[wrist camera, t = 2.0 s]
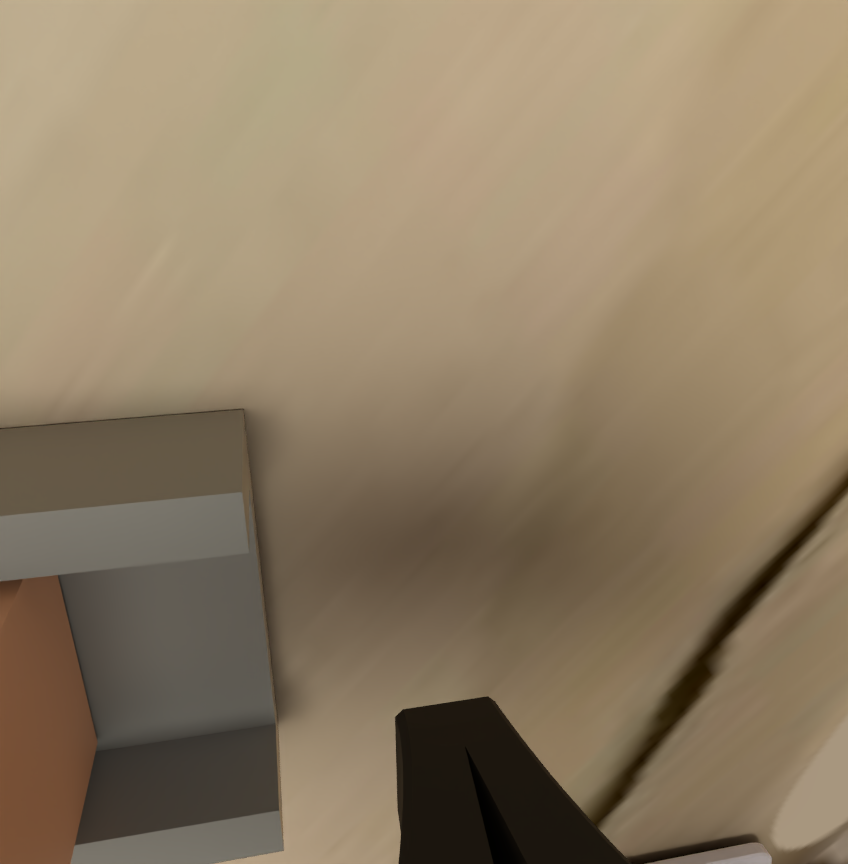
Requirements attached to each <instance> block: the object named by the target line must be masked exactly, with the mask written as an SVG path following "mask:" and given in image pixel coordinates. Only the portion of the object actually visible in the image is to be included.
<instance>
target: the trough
mask: <svg viewBox="0 0 848 864" xmlns="http://www.w3.org/2000/svg"><path fill="white" fill-rule="evenodd" d="M53 575H58V579H59V583H60V587H61V592H62V596H63V600H64V604H65V608H66V612H67V617H68V621H69V625H70V629H71V633H72V637H73V642H74V646H75V650H76V654H77V658H78V663H79V667H80V671H81V675H82V679H83V683H84V688H85V692H86V696H87V700H88V704H89V708H90V713H91V717H92V721H93V725H94V729H95V734H96V738H97V742H98V743H97V748H96V752H95V757H94V761H93V766H92V770H91V775H90V779H89V784H88V788H87V792H86V797H85V801H84V806H83V810H82V815H81V819H80V824H79V828H78V833H77V837H76V841H75V846H74V850H73V855H72V859H71V864H213V863H218V862H224V861H229V860H235V859H241V858H246V857H252V856H257V855H263V854H268V853H274V852H279V851H284V843H283V821H282V799H281V777H280V755H279V733H278V719H277V710H276V701H275V692H274V683H273V674H272V665H271V656H270V647H269V638H268V628H267V619H266V610H265V601H264V592H263V583H262V574H261V565H260V556H259V547H258V538H257V529H256V520H255V510H254V501H253V492H252V483H251V474H250V465H249V456H248V447H247V438H246V429H245V420H244V411H243V409H241V410H228V411H216V412H204V413H192V414H179V415H167V416H155V417H142V418H130V419H118V420H106V421H93V422H81V423H69V424H56V425H44V426H32V427H19V428H7V429H0V581H9V580H18V579H26V578H35V577H44V576H53Z"/></svg>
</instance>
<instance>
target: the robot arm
mask: <svg viewBox="0 0 848 864" xmlns="http://www.w3.org/2000/svg"><path fill="white" fill-rule="evenodd" d="M395 727H396V763H397V800H398V815H399V821H400V829H401V844H400V856H399V864H631V863H630V861H629V860H628V859H627V858H626V857H625V856H624V855H623V854H622V853H621V852H620V851H619V850H618V849H617V848H616V847H615V846H614V845H613V844H612V843H611V842H610V841H609V840H608V839H607V838H606V836H605V835H604V834H603V833H602V832H601V831H600V830H599V829H598V828H597V827H596V826H595V825H594V824H593V822H592V821H591V820H590V819H589V818H588V817H587V816H586V814H585V813H584V812H583V811H582V810H581V809H580V808H579V807H578V805H577V804H576V803H575V802H574V801H573V800H572V799H571V797H570V796H569V795H568V794H567V793H566V792H565V791H564V790H563V788H562V787H561V786H560V785H559V784H558V782H557V781H556V780H555V779H554V778H553V777H552V775H551V774H550V773H549V772H548V770H547V769H546V768H545V767H544V766H543V764H542V763H541V762H540V761H539V759H538V758H537V757H536V756H535V754H534V753H533V752H532V751H531V749H530V748H529V747H528V746H527V744H526V743H525V742H524V740H523V739H522V738H521V736H520V735H519V734H518V733H517V731H516V730H515V729H514V727H513V726H512V725H511V723H510V722H509V720H508V719H507V718H506V716H505V715H504V714H503V712H502V711H501V709H500V708H499V707H498V705H497V704H496V702H495V701H493V700H492V699H491V698H490V697H481V698H475V699H468V700H462V701H455V702H449V703H442V704H436V705H429V706H423V707H416V708H410V709H403V710H402V711H401V712H400V713H399V714H398V715H397V716H396V717H395ZM646 864H772V857H771V856H770V854H769V853H768V851H767V850H766V848H765V847H764V845H763V844H760V843H757V842H754V843H746V844H741V845H736V846H731V847H726V848H721V849H716V850H711V851H706V852H701V853H696V854H691V855H686V856H681V857H676V858H671V859H666V860H661V861H656V862H651V863H646Z"/></svg>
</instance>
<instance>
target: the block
mask: <svg viewBox="0 0 848 864" xmlns="http://www.w3.org/2000/svg"><path fill="white" fill-rule="evenodd" d="M97 743H98V742H97V738H96V734H95V729H94V725H93V721H92V717H91V713H90V708H89V704H88V700H87V696H86V692H85V688H84V683H83V679H82V675H81V671H80V667H79V663H78V658H77V654H76V650H75V646H74V642H73V637H72V633H71V629H70V625H69V621H68V617H67V612H66V608H65V604H64V600H63V596H62V592H61V587H60V583H59V579H58V575H53V576H44V577H35V578H26V579H18V580H9V581H0V864H71V859H72V855H73V850H74V846H75V841H76V837H77V833H78V828H79V824H80V819H81V815H82V810H83V806H84V801H85V797H86V792H87V788H88V784H89V779H90V775H91V770H92V766H93V761H94V757H95V752H96V748H97Z"/></svg>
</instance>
